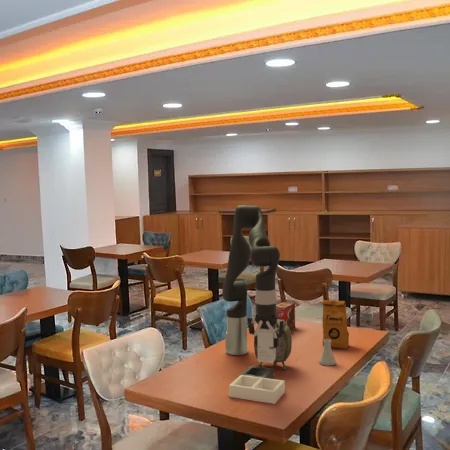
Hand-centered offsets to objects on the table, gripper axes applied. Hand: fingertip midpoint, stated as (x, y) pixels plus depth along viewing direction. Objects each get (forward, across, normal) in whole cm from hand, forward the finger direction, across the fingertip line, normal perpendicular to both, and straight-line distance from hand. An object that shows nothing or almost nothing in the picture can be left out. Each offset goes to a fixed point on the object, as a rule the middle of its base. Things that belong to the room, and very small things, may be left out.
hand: (266, 346), depth 194 cm
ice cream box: (+19, -22, +81) cm, 86 cm away
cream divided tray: (+18, -4, 0) cm, 19 cm away
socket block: (+19, -9, +13) cm, 24 cm away
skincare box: (+5, 0, 0) cm, 5 cm away
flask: (+19, +12, +42) cm, 47 cm away
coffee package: (+19, +10, +66) cm, 69 cm away
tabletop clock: (+19, -8, +30) cm, 36 cm away
